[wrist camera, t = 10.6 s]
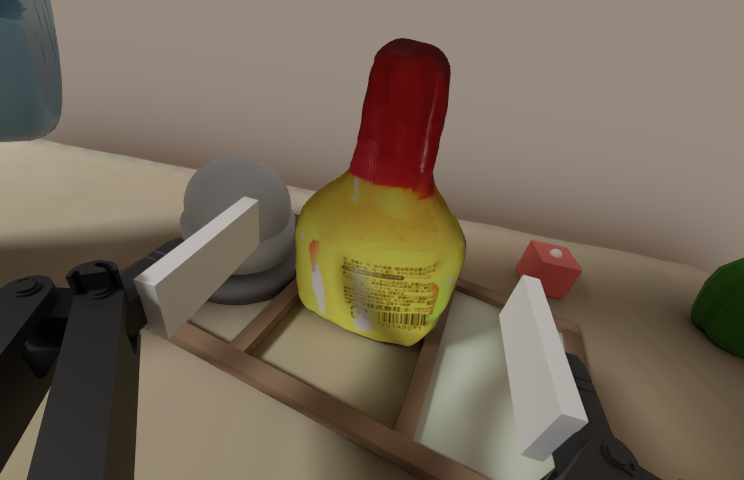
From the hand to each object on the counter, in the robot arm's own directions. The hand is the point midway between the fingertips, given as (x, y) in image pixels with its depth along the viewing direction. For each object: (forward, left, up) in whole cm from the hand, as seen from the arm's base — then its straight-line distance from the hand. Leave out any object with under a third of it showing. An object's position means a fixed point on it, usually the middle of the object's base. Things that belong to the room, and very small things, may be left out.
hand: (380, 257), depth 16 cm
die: (+13, +21, -11) cm, 27 cm away
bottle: (-2, +6, -11) cm, 13 cm away
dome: (-14, +6, -9) cm, 17 cm away
